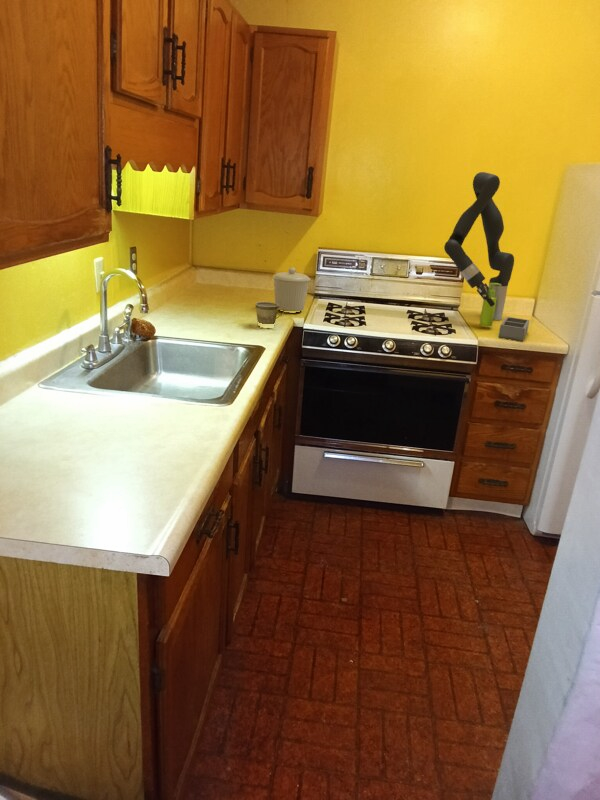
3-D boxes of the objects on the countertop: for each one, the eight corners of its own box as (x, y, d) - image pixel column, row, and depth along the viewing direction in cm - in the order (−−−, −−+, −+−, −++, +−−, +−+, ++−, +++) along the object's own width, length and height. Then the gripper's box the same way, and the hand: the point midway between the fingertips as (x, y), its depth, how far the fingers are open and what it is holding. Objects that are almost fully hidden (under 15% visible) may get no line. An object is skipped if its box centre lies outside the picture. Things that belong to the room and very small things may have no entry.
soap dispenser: (494, 327, 291) (502, 284, 284) (479, 325, 292) (487, 283, 285) (493, 324, 296) (501, 282, 289) (478, 322, 297) (486, 281, 290)
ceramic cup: (250, 327, 264) (251, 304, 261) (260, 323, 273) (261, 300, 269) (278, 332, 260) (279, 308, 256) (287, 327, 269) (289, 304, 265)
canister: (301, 307, 310) (304, 265, 303) (313, 315, 294) (316, 271, 287) (266, 307, 305) (268, 264, 297) (276, 315, 289) (279, 270, 281)
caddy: (504, 329, 295) (506, 316, 293) (527, 332, 291) (529, 320, 289) (498, 337, 277) (500, 324, 275) (522, 341, 273) (525, 328, 271)
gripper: (476, 272, 282) (498, 302, 281) (482, 268, 294) (503, 297, 294) (463, 282, 286) (485, 311, 285) (469, 278, 298) (489, 306, 298)
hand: (494, 304), depth 290 cm, fingers closed on soap dispenser, 6 cm apart
